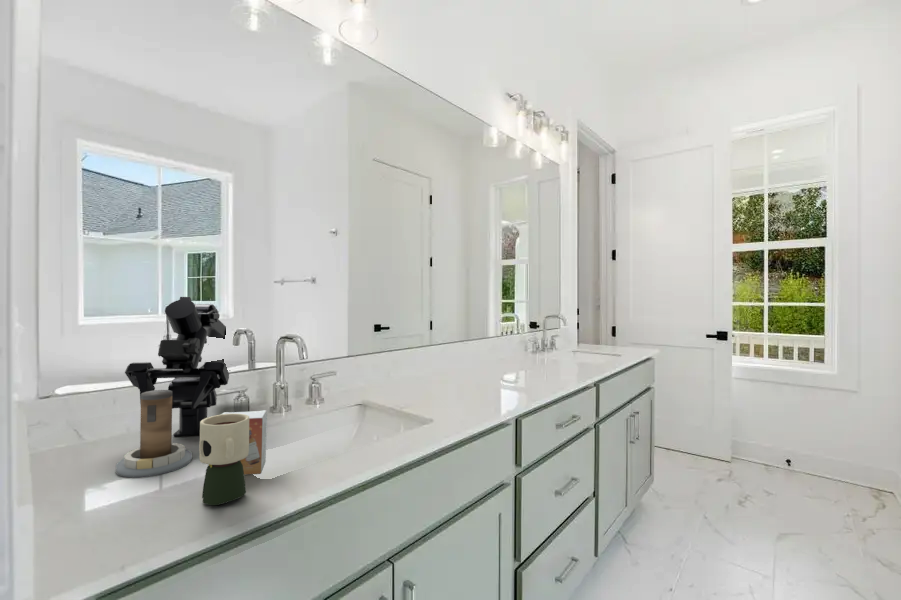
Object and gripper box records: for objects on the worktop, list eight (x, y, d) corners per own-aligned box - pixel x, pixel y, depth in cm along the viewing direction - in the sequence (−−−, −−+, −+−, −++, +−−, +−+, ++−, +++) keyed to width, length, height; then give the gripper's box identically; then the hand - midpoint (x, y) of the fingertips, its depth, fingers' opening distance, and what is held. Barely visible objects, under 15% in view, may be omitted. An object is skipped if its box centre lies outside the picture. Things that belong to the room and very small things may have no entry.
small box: (213, 478, 78) (214, 419, 77) (221, 466, 83) (222, 411, 83) (262, 474, 80) (262, 417, 80) (266, 462, 85) (267, 409, 85)
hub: (134, 455, 88) (134, 442, 88) (199, 451, 90) (200, 439, 90) (102, 480, 76) (102, 465, 76) (178, 474, 79) (178, 460, 79)
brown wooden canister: (145, 455, 85) (146, 390, 85) (174, 453, 86) (175, 389, 86) (134, 466, 79) (135, 397, 79) (165, 463, 81) (166, 395, 81)
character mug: (195, 492, 72) (196, 414, 72) (242, 482, 76) (243, 408, 76) (202, 520, 63) (203, 431, 63) (254, 507, 67) (256, 424, 67)
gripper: (129, 324, 91) (99, 388, 81) (225, 325, 95) (208, 386, 85) (147, 356, 99) (121, 418, 89) (235, 355, 103) (220, 414, 93)
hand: (167, 408), depth 88 cm, fingers open, 9 cm apart
